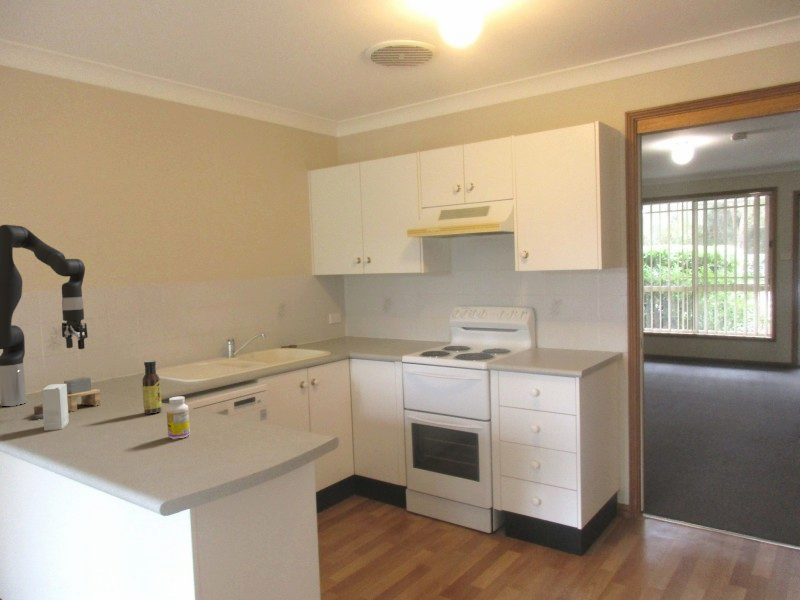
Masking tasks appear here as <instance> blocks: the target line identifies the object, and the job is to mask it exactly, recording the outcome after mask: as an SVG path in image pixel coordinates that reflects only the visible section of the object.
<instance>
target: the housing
mask: <svg viewBox="0 0 800 600" xmlns="http://www.w3.org/2000/svg"><path fill="white" fill-rule="evenodd" d="M63 382H64V383H63V384H67V394H76V393H81V392H85V391H90V390H91V389H92V382H91V377H84V376H83V377H78V378H72V379H67V380H63Z"/></svg>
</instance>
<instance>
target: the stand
mask: <svg viewBox="0 0 800 600" xmlns="http://www.w3.org/2000/svg"><path fill="white" fill-rule="evenodd" d="M100 395H101V389H96V388H91V390H90V391H85V392H81V393H76V394H67V400H68V412H69V411H71V413H73V412H72V411H74V412H77V411H78V403H77V401H78V400H77V398H78V397H80V399H81V405H84V404H87V405H86V406H90V405H94V406H93V407H98V406H97V405H100V406H101V396H100Z"/></svg>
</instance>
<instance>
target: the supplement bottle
mask: <svg viewBox="0 0 800 600" xmlns="http://www.w3.org/2000/svg"><path fill="white" fill-rule="evenodd" d="M168 402H169V406H167V408H166V421H167V435H168V438H169V437H170V438H180V437H185V436H187V435H189V434H190V435H191V429H190V412H189V410H190V409H189V406H188V405H187V404H185V396H173V397H170V398H168ZM190 435H189V436H190ZM170 438H169V439H170Z"/></svg>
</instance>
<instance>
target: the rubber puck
mask: <svg viewBox="0 0 800 600" xmlns="http://www.w3.org/2000/svg"><path fill="white" fill-rule="evenodd" d="M31 418H32V420H33V421H39V420H38V419H40V420H44V419H43V414H37V415H32V417H31Z"/></svg>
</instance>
